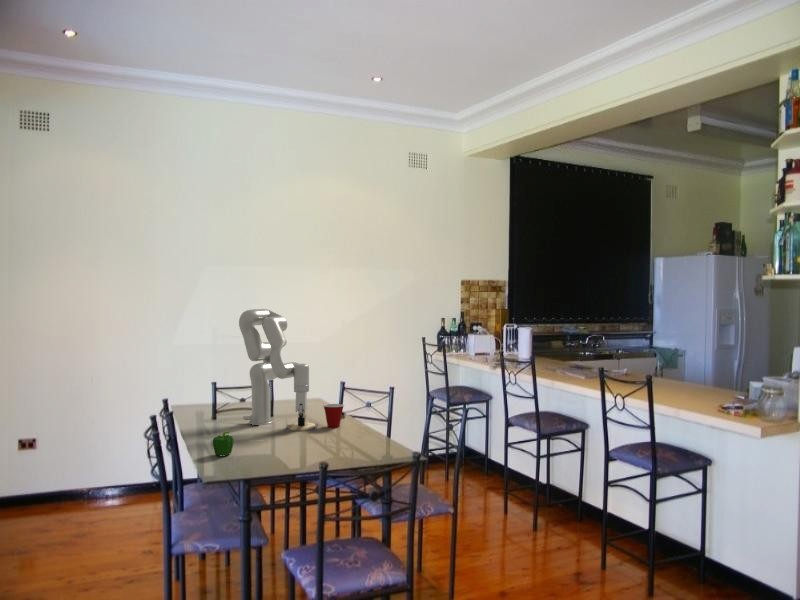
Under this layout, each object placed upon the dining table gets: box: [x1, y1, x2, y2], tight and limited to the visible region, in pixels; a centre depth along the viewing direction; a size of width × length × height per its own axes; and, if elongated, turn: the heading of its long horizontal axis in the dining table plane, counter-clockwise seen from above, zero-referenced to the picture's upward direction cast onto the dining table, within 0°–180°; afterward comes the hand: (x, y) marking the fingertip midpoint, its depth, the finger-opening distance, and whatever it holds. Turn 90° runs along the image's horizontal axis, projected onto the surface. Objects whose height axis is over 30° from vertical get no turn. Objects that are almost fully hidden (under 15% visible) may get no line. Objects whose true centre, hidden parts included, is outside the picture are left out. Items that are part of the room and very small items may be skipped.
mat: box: [283, 423, 319, 433], centre depth 304 cm, size 16×16×1 cm
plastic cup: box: [322, 403, 345, 429], centre depth 307 cm, size 11×11×12 cm
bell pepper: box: [212, 430, 234, 456], centre depth 256 cm, size 8×8×10 cm
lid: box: [287, 413, 316, 432], centre depth 304 cm, size 14×14×7 cm
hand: (301, 423), depth 304 cm, fingers open, 6 cm apart
